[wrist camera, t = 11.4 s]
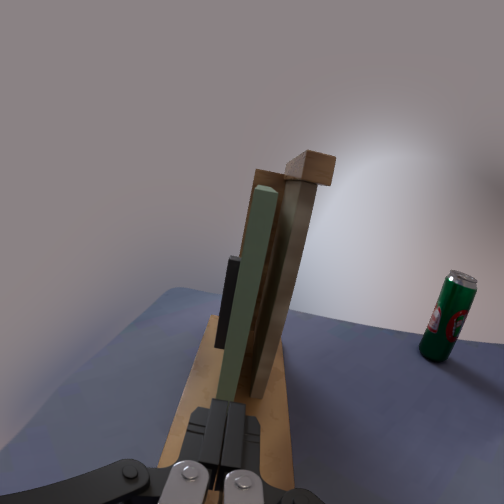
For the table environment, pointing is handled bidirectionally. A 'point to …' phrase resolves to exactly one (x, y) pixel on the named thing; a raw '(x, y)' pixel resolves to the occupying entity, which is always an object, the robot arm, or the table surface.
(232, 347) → the door
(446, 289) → the soda can
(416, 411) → the table surface
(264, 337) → the door frame
